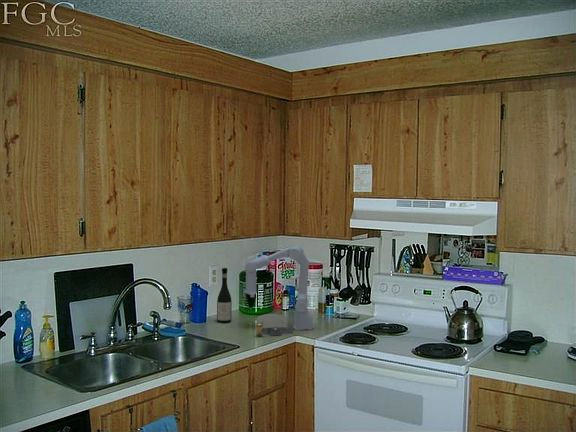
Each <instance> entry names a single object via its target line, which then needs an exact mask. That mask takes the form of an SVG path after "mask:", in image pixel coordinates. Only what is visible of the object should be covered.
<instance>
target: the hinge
mask: <svg viewBox="0 0 576 432" xmlns="http://www.w3.org/2000/svg"><path fill="white" fill-rule="evenodd" d="M256 323H263V326H262V328H270V327H288V324H287V323H288V322H287V318H286V316H285V315H283V314H279V313H266V314H262V315H260V316H259V315H258V317H257V319H256Z"/></svg>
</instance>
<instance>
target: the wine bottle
mask: <svg viewBox="0 0 576 432" xmlns="http://www.w3.org/2000/svg"><path fill="white" fill-rule="evenodd" d="M221 278H222V279H221V287H220V291H219V293H218V296H217V300H216V321H217V322H218V323H221V324H222V323H223V324H227V323H230V322H231V321H232V309H233V308H232V307H233V306H232V304H233V303H232V302H233V301H232V296H231V293H230V291H229V288H228V268H227V267H222V268H221Z"/></svg>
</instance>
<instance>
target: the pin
mask: <svg viewBox="0 0 576 432" xmlns="http://www.w3.org/2000/svg"><path fill="white" fill-rule="evenodd" d="M254 326H255V330H256V331H255V337H257V338H261V337H263V334H262V326H263V323H257V322H256V323H255V325H254Z"/></svg>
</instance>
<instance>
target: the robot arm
mask: <svg viewBox="0 0 576 432" xmlns="http://www.w3.org/2000/svg"><path fill="white" fill-rule="evenodd" d="M280 258H281V259H282V258H287V259H288V258H290V259H291V260H293V261H295V262H297V264H298V265H299V273H298V275H299V276H298V289H297V290H298V293H297V298H296V299H297V301H296V303H295V304H294V307H295V310H294V324H293V325H292V327H293V329H294V330H295V331H298V330H299V331H302V330H304V331H306V329H307V330H314V315H313V311H309V310H308V307H309V301H308V281H309V265H310V260H309V259H308V257H307V255H306V253H305V251H304V249H303V248H302V247H300V246H298V245H293V246H292V247H291V246H289V247H287V248H284V249H283V248H282V249H281V250H278V251H277V252H275V253H273V254H270V255H263V254H261V255H259V256H258V257H256V258H252V260H249V261H247V262H246V263H245V267H244V268H245V270H246V271H245V290H243V293H244V294H245V297H246V299H247V306H248V308H249V309H254V305H255V301H256V298H257V292H258V291H257V270H259V269H262V268H265V267H267V266H269V265H270V264H271V262H273V261H275V260H278V259H280Z"/></svg>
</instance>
